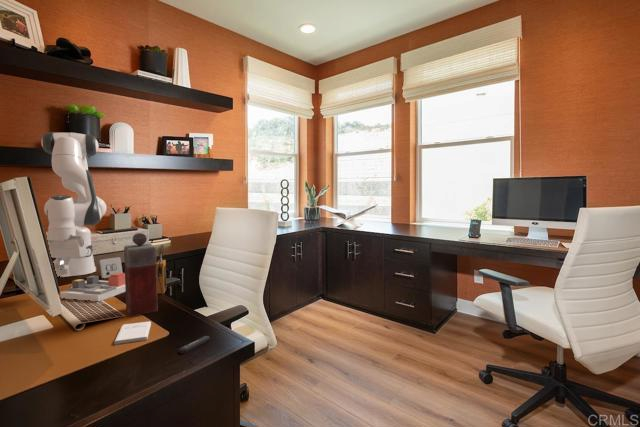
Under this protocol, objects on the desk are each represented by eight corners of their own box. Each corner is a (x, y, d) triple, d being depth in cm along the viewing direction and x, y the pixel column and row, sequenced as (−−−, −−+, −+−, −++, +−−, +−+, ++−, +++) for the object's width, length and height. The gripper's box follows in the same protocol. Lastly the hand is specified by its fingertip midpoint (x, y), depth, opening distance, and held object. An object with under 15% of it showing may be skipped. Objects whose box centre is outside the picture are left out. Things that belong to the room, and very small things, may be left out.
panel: (60, 298, 132) (60, 289, 132) (99, 285, 150) (99, 278, 150) (98, 301, 128) (97, 292, 128) (133, 288, 146) (133, 280, 146)
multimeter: (142, 288, 146) (141, 243, 145) (167, 286, 149) (166, 242, 148) (135, 299, 132) (133, 249, 131) (163, 296, 135) (161, 248, 134)
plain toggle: (86, 285, 142) (86, 277, 141) (92, 283, 144) (92, 275, 144) (92, 285, 141) (92, 277, 141) (99, 283, 144) (98, 275, 144)
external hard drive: (114, 346, 93) (122, 329, 105) (147, 341, 96) (151, 325, 108) (114, 341, 93) (122, 324, 105) (147, 336, 96) (151, 320, 108)
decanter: (151, 302, 128) (149, 230, 126) (157, 311, 119) (155, 233, 117) (125, 307, 123) (122, 231, 121) (129, 316, 114) (126, 235, 112)
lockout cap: (108, 286, 141) (108, 274, 141) (118, 282, 146) (117, 272, 145) (118, 286, 140) (118, 275, 140) (127, 283, 145) (127, 272, 144)
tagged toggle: (72, 289, 135) (71, 280, 135) (79, 287, 138) (78, 278, 138) (78, 290, 135) (78, 281, 134) (85, 288, 137) (85, 279, 137)
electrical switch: (102, 279, 161) (100, 260, 161) (98, 278, 165) (97, 259, 164) (123, 275, 169) (121, 257, 169) (119, 274, 172) (117, 256, 172)
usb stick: (204, 339, 98) (204, 334, 97) (211, 341, 96) (211, 336, 96) (177, 353, 89) (177, 347, 89) (184, 355, 88) (184, 349, 88)
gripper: (90, 234, 137) (91, 267, 138) (50, 233, 141) (52, 266, 142) (76, 236, 131) (77, 271, 131) (34, 235, 135) (36, 269, 136)
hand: (63, 268), depth 137 cm, fingers closed
